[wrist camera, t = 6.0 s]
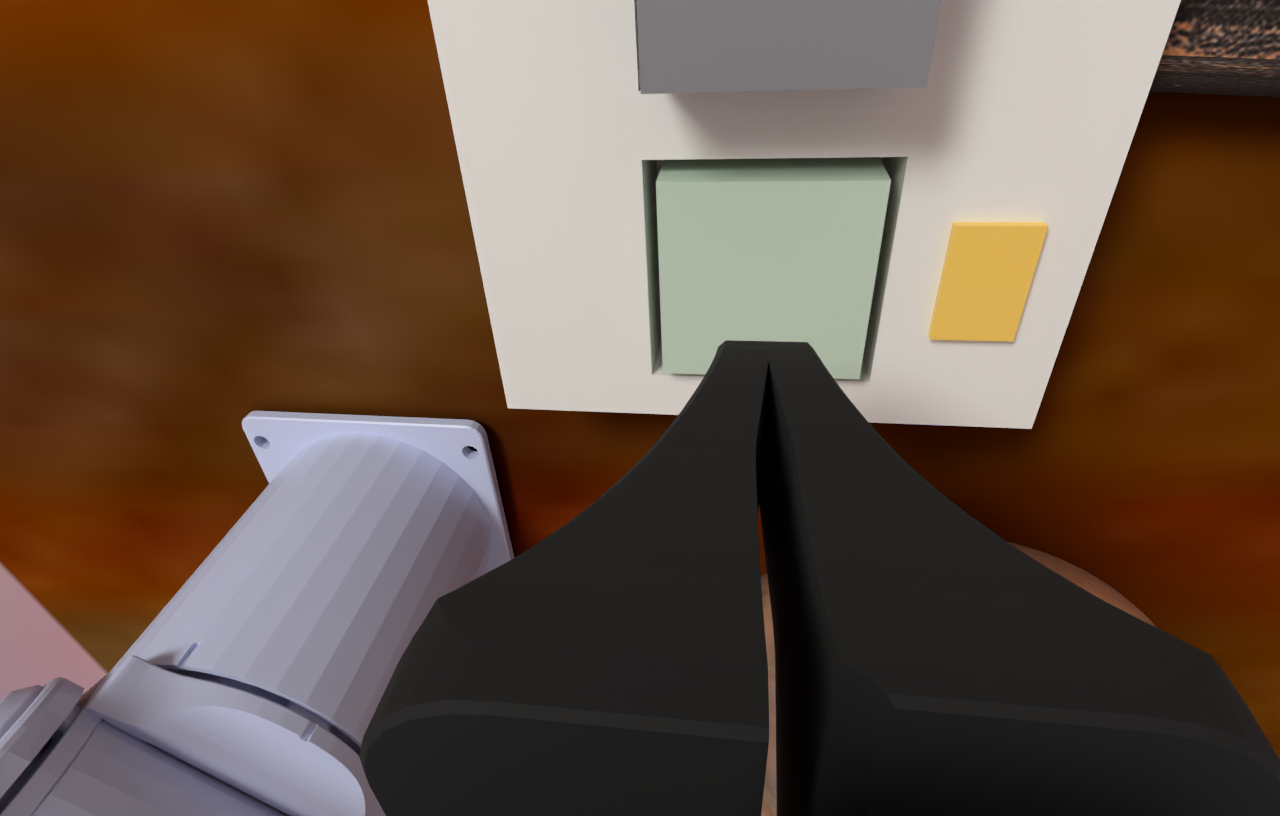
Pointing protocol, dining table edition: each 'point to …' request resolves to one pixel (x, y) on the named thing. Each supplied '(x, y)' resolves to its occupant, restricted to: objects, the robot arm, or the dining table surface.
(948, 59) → the white flat block
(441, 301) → the dining table surface
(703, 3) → the key charcoal
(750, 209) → the key sage
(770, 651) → the ceramic jug
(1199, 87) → the hardcover book
